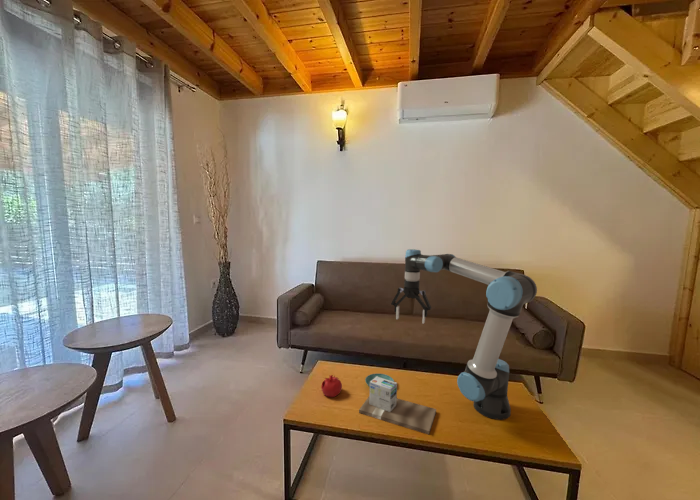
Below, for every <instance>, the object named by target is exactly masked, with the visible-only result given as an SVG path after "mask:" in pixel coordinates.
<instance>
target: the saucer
mask: <svg viewBox="0 0 700 500" xmlns="http://www.w3.org/2000/svg"><path fill="white" fill-rule="evenodd" d="M376 376H378V377H380V378H383V379H386V380H390V381H393V382H395V380H394V379H393V377H391V376H390V375H388V374H385V373H372V374H371V373H370V374H368V375H367V376H366V377H365V379H364V380H365V383H366V385H367V386H368V387H369V388H370V381H371V380H373V379H374V378H375V377H376Z"/></svg>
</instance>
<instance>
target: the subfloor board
mask: <svg viewBox="0 0 700 500" xmlns="http://www.w3.org/2000/svg"><path fill="white" fill-rule="evenodd" d="M358 413H359V414H361V415H364V416H368V417H371V418H375V419H378V420H381V421H383V422H387V423H391V424H393V425H398V426H400V427H403V428H406V429H410V430H413V431H416V432H419V433H423V434H425V435H427V436H428V435H430V432H431V429H432V427H433V423H434V420H435V417H436V414H437V408H434V407H429V406H426V405H422V404H419V403H415V402H413V401H412V402H411V401H408V400H404V399H400V398H397V403H396V406H395V407H394V409H393V410H392V411H391V412H388V411H386V410H383V409H380V408H378V407H375V406H373V405H370V404H369V396H367V398H366V400H365V401H364V402H363V404H362V405H361V407H360V408H359V409H358Z"/></svg>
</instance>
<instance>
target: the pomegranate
mask: <svg viewBox="0 0 700 500" xmlns="http://www.w3.org/2000/svg"><path fill="white" fill-rule="evenodd" d="M328 376H329V377H328V378H327V377H325V378H324V379H323V380H322V382H321V391H322V393H323V395H324V396H326V397H329V398H335V397H336V396H339V394H340V393H341V391H342V387H343V383H342V381H341V380H340V378H338V377H336V375H334V376H333V375H332V374H331V375H328Z"/></svg>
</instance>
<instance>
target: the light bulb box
mask: <svg viewBox="0 0 700 500" xmlns="http://www.w3.org/2000/svg"><path fill="white" fill-rule="evenodd" d="M397 395H398V382H396V381H394V382H393V381H390V380H386V379H383V378H380V377H378V376H376V377H375V378H374V379H373V380H371V381H370V387H369V396H368V397H369V404H370V405H373V406H375V407H378V408H380V409H383V410H386V411H388V412H391V411H392V410H393V409H394V407H395V406H396V403H397V399H398V398H397V397H398V396H397Z"/></svg>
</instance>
